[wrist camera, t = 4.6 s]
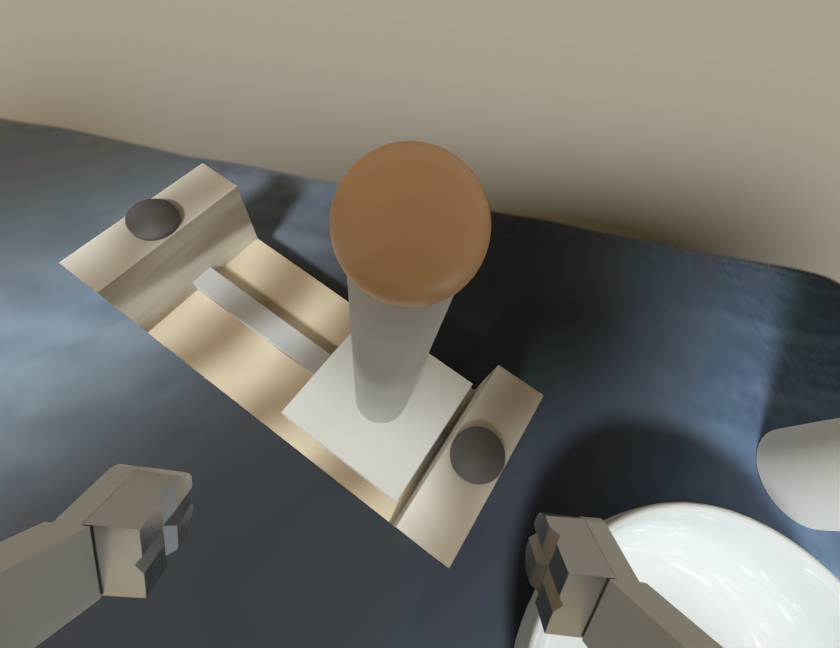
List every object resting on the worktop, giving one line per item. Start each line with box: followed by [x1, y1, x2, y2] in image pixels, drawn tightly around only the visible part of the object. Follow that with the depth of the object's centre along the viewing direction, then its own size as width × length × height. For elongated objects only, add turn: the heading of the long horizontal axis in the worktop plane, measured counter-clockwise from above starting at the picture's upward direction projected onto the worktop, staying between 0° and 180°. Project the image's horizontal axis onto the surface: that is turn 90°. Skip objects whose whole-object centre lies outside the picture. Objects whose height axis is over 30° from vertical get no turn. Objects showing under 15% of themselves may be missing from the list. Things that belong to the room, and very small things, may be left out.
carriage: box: [282, 141, 491, 501], centre depth 16 cm, size 8×8×20 cm
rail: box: [59, 163, 543, 568], centre depth 25 cm, size 26×10×7 cm, turn 55°
